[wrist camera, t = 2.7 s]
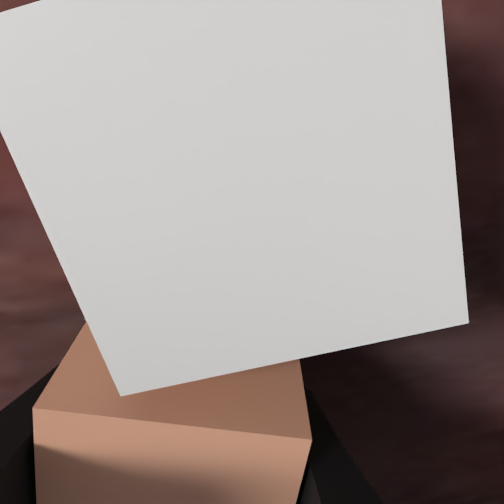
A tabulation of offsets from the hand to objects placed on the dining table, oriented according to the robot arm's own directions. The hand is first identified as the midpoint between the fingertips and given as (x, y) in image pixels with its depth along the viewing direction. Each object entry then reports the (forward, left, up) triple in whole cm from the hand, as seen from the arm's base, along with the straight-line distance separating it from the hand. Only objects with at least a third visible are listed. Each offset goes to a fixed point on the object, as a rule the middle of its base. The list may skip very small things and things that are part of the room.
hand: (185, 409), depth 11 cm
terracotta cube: (0, 0, -2) cm, 2 cm away
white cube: (+6, 0, -2) cm, 7 cm away
